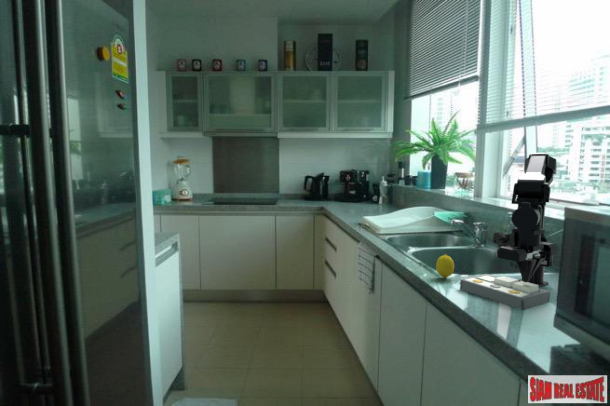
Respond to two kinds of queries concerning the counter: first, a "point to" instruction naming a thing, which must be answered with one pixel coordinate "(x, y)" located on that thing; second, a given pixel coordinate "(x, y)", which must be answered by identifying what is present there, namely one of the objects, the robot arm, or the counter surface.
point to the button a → (486, 278)
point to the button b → (505, 281)
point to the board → (504, 293)
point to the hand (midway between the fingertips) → (525, 281)
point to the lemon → (445, 266)
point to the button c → (525, 287)
